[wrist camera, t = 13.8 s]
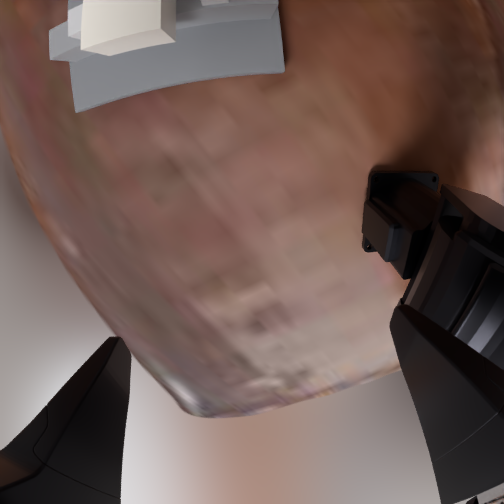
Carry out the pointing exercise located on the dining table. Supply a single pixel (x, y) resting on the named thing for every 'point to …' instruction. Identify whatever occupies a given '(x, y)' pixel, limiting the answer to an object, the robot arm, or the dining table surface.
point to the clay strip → (126, 25)
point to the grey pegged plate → (175, 51)
